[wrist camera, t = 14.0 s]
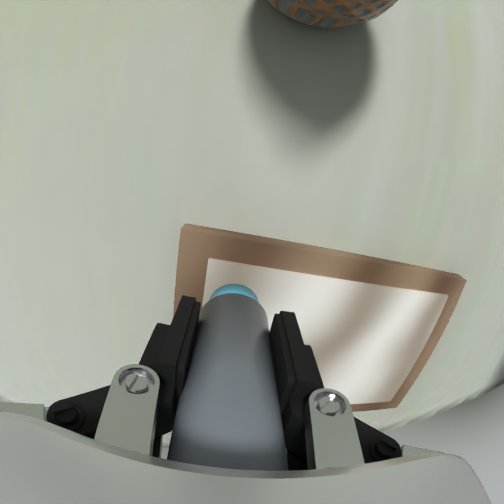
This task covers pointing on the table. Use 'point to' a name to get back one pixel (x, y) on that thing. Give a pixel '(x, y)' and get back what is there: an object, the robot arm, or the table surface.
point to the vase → (332, 11)
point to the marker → (230, 389)
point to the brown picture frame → (331, 305)
